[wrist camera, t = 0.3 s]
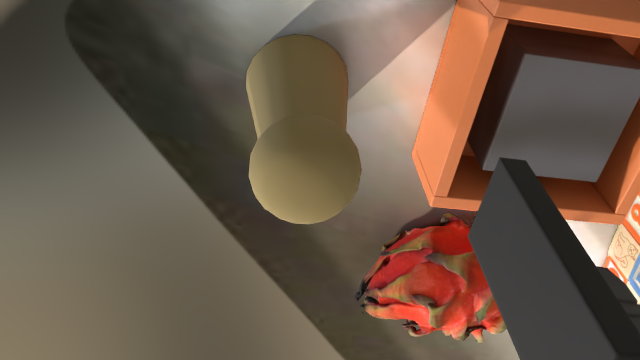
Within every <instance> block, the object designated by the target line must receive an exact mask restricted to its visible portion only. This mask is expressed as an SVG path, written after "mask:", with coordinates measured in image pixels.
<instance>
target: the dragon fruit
mask: <svg viewBox="0 0 640 360" xmlns="http://www.w3.org/2000/svg"><path fill="white" fill-rule="evenodd" d="M442 216H443V217H442V219H441V223H443V224H445V226H431V227H427V228H423V229H420V228H414V229H412V230H410V231H407V230H404V231H403V232H401V233H400V234H399V235H397V236H396V237H394V238H393V239H391V240H390V241H389V242H388V243H386V244H384V245H383V248H382V249H381V251H383V250H385V249H387V250H386V251H384V252H383V253H382V254H381V256H380V257H379V259H378V261H377V262H376V264H375V265H374V266H373V268H372V269H371V270H370V271H369V272H368V273H367V274H366V275H365V277H364V278H363V280H362V282H361V284H360V288H359V292H357V293H356V295H355V299H356V300H357V301H358V300H359V299H360V298H361V297H362V295H363V294H364V295H365V304H362V305H360V308H363V309H364V310H365V311H367V312H368V313H369V314H370V315H372V316H373V317H377V316H378V317H377V318H380V319H407V321H406V324H403V325H402V326H403V327H405V328H404V329H405V330H409V331H408V332H409V334H410V335H412V336H415V337H417V336H423V335H426V334H429V333H431V332H433V331H435V330H443V332H444V334H445V335H446V336H447V337H448V336H449V335H451V334H452V336H453V338H454V339H457V340H465V339H466V338H467V337H468V336H469V333H472V334H473V335H474V336H475V338H476V339H477V340H476V341H477V342H478V343H483V342H484V338H483V336H482V331H483V329H485V330H486V329H487V330H488V331H489V332H490V333H492V334H498V333H501V332H503V331H504V330H506V329H507V327H506V325H505V323H504V320H503V318H502V316H501V313H500V311H499V309H498V306H497V304H496V302H495V299H494V297H493V295H492V292H491V290H490V288H489V285H488V283H487V281H486V278H485V276H484V274H483V271H482V269H481V267H480V264H479V262H478V260H477V257H476V255H475V253H474V250H473V248H472V246H471V243H470V241H469V239H468V234H469V231H470V229H471V227H470V226H468V225H466V224H465V223H464V222H463V221H462V220H461V219H460V218H458V217H457V216H454V215H453V214H452V213H445V214H443V215H442ZM369 283H370V284H369ZM368 284H369V289H367V290H366V288H367V286H368ZM365 290H366V291H365ZM373 297H374V298H378V301H377V300H376V299H374V298H373ZM362 313H363V312H362ZM363 314H364V313H363ZM363 317H364V316H363ZM416 325H419V326H420V329H419V330H416V328H415V327H414V326H416Z"/></svg>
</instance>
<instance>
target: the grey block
mask: <svg viewBox="0 0 640 360" xmlns="http://www.w3.org/2000/svg"><path fill="white" fill-rule="evenodd" d="M639 97H640V61H639V60H638V59H636V58H635V57H634V56H633V55H631V54H630V53H629V52H628V51H626V50H625V49H624V48H623V47H621V46H620V45H619V44H618V43H616V42H615V41H614V40H613V39H608V38H601V37H594V36H588V35H581V34H574V33H567V32H560V31H554V30H547V29H540V28H533V27H527V26H520V25H513V24H507V26H506V29H505V32H504V35H503V38H502V40H501V43H500V46H499V49H498V52H497V55H496V58H495V60H494V63H493V66H492V69H491V72H490V75H489V78H488V81H487V83H486V86H485V89H484V92H483V95H482V98H481V101H480V103H479V106H478V109H477V112H476V115H475V118H474V121H473V124H472V126H471V129H470V132H469V135H468V138H467V141H468V143H469V145H470V147H471V149H472V150H473V152H474V154H475V156H476V158H477V160H478V162H479V164H480V166H481V167H482V169H483V170H488V171H494V170H495V167H496V165H497V162H498V160H499V157H502V158H511V159H519V160H526V161H527V163H528V164H529V166H530V167H531V169H532V170H533V172H534V173H535V175H536V176H544V177H553V178H563V179H572V180H581V181H590V182H597V180H598V178H599V176H600V174H601V172H602V170H603V168H604V166H605V164H606V162H607V160H608V158H609V156H610V154H611V152H612V151H613V149H614V147H615V145H616V143H617V141H618V139H619V137H620V135H621V133H622V131H623V129H624V127H625V125H626V123H627V121H628V119H629V117H630V115H631V113H632V111H633V109H634V107H635V105H636V103H637V101H638V99H639Z"/></svg>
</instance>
